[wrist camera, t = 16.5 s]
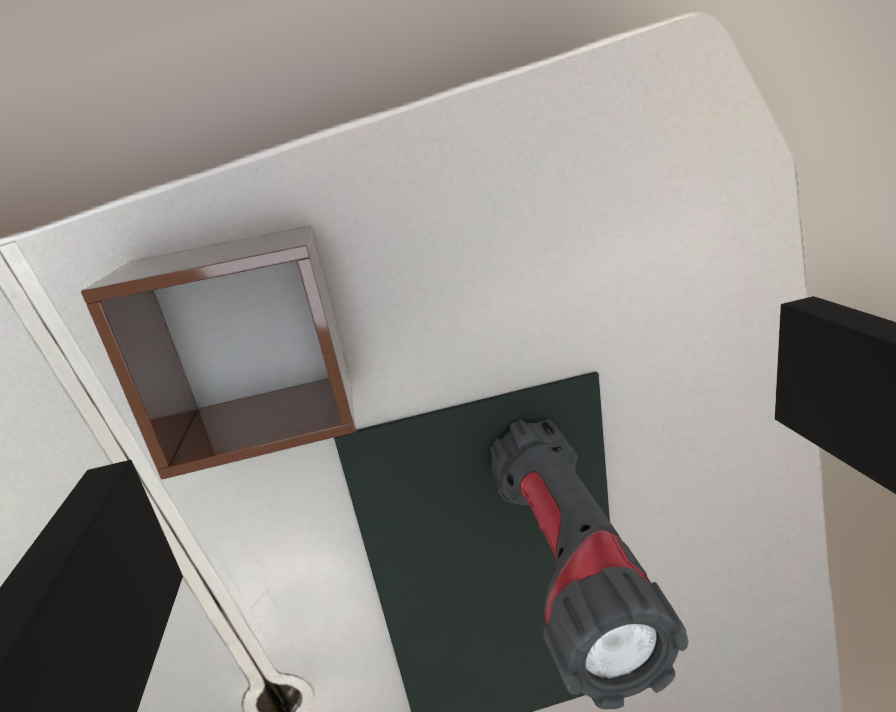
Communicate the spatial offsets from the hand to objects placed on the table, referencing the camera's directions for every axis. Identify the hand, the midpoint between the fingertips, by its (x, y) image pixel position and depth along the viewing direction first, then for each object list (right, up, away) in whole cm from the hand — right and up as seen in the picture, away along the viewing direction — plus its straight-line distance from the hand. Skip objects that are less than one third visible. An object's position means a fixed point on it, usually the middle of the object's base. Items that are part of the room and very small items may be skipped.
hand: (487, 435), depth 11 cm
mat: (+4, -21, +46) cm, 51 cm away
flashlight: (+5, -7, +41) cm, 42 cm away
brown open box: (-16, +4, +33) cm, 37 cm away
